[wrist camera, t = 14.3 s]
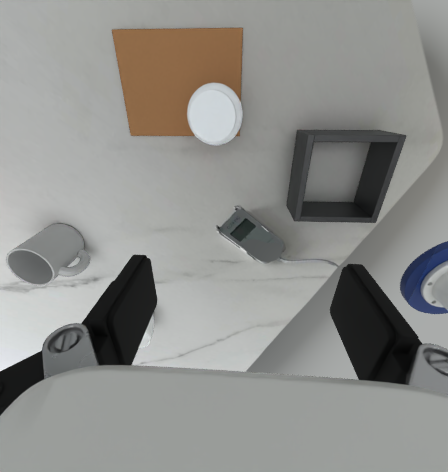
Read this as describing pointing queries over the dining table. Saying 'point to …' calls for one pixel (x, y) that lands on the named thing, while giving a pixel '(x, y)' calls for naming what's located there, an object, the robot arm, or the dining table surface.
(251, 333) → the dining table surface
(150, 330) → the cup
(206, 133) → the pill bottle
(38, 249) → the cup
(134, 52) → the cork mat
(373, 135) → the bin
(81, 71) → the dining table surface
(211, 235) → the dining table surface
